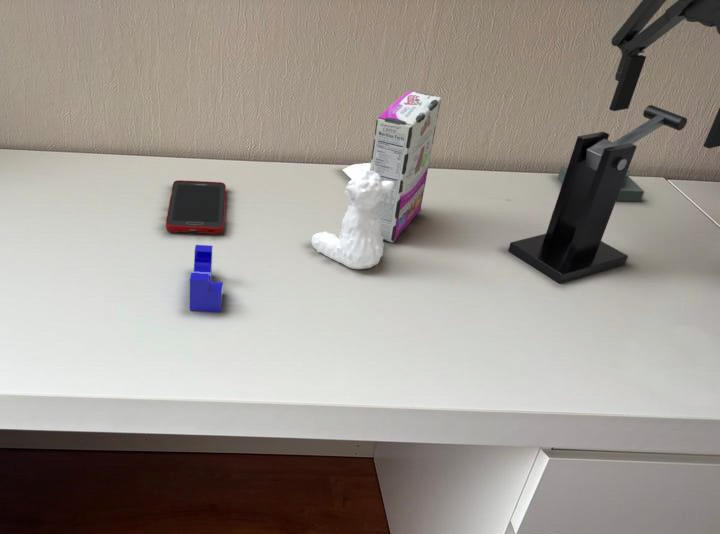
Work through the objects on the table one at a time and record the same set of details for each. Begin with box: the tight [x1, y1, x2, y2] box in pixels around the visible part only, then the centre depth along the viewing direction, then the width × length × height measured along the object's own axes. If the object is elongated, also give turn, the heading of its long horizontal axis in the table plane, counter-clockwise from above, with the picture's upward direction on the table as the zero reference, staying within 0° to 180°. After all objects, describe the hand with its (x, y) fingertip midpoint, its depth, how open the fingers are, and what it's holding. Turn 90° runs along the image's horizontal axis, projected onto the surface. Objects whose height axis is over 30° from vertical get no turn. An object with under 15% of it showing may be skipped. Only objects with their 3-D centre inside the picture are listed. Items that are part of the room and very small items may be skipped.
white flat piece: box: [342, 162, 371, 180], centre depth 112 cm, size 5×15×1 cm, turn 16°
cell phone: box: [165, 179, 227, 234], centre depth 104 cm, size 8×15×1 cm, turn 0°
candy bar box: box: [370, 90, 442, 244], centre depth 99 cm, size 11×5×16 cm, turn 150°
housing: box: [557, 167, 645, 203], centre depth 116 cm, size 10×8×4 cm
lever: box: [586, 104, 688, 171], centre depth 91 cm, size 12×5×2 cm, turn 118°
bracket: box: [507, 131, 637, 284], centre depth 94 cm, size 12×9×16 cm
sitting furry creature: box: [311, 170, 394, 270], centre depth 92 cm, size 10×9×12 cm
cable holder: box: [189, 244, 224, 313], centre depth 86 cm, size 8×4×4 cm, turn 178°
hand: (663, 126), depth 92 cm, fingers open, 13 cm apart
